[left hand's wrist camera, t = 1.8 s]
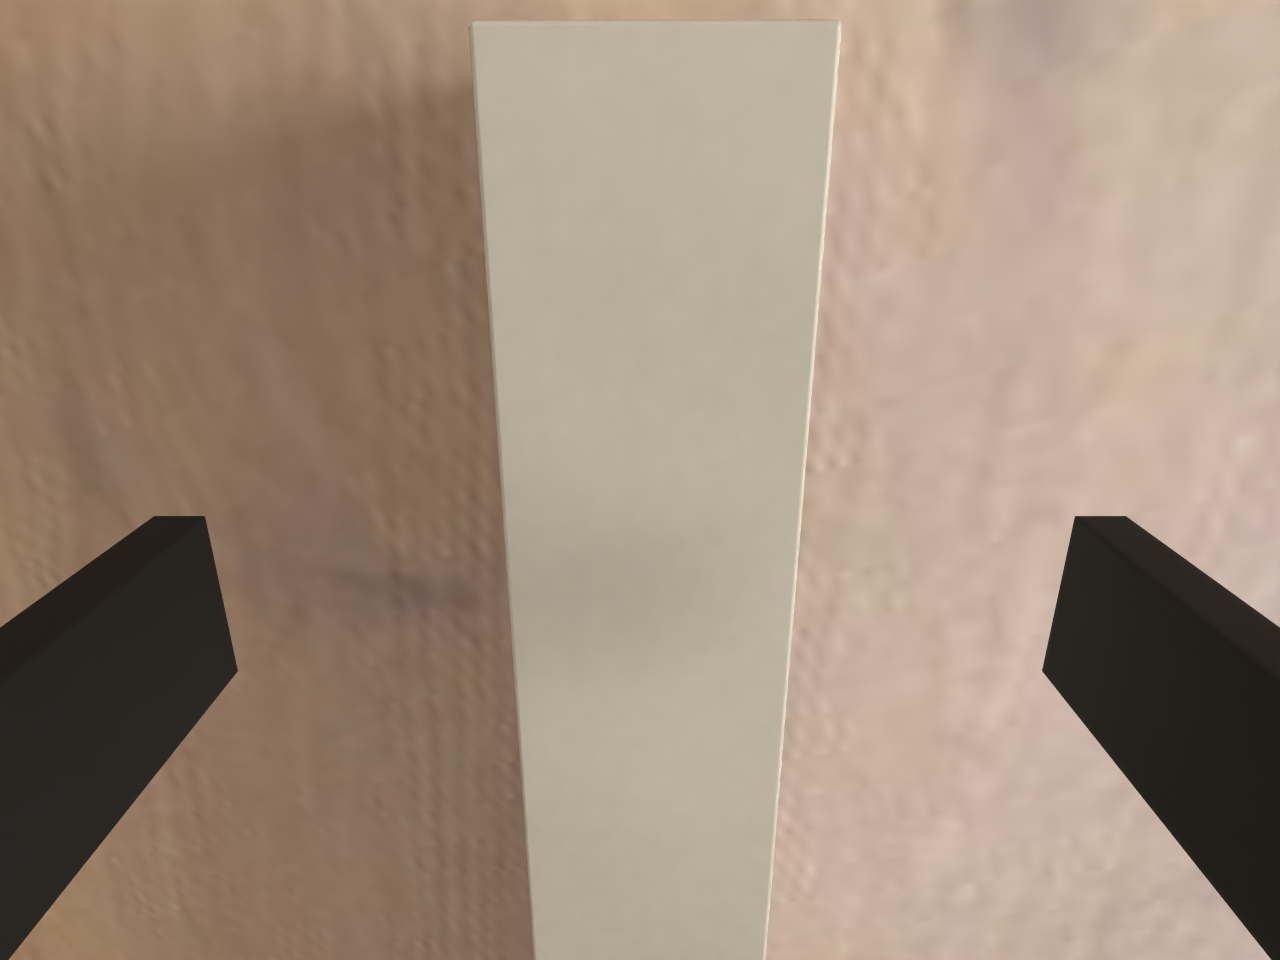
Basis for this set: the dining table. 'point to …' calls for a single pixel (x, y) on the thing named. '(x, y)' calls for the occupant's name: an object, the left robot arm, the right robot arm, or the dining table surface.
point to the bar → (652, 453)
